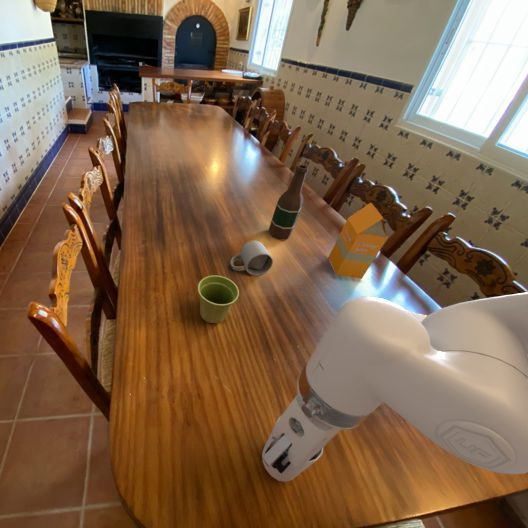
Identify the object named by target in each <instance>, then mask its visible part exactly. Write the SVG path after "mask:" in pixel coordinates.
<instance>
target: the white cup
mask: <svg viewBox="0 0 528 528" xmlns="http://www.w3.org/2000/svg"><path fill="white" fill-rule="evenodd" d="M281 416H282V415H280V416H279V417H278V418H277V420H276V422H275V424H274V426H275V425H276V423H277V422H278V420H279V419H280V417H281ZM271 435H272V431H271V432H270V434H269V436H268V438H267V439H266V442H265V444H264V446H263V449H262V451H261V452H262V453H261V459H262V457H263V456H264V455H265V452H266V450H267V449H268V447H269V446H270V444H271V443H272V442H273V441H274V440H275V439H274V438H273V439H272V436H271ZM324 448H325V446H324V447H323V448H322V449H321V450H320V451H319V452H318V453H316V454H315V455H314V456H313V457H312V458H311V459H310V460H309V461H308V462H307V463H305V464H304V465H303V466H302V467H300V468H297V467H294V466H293V465H292V464H290V465H289V466H288V467H287V468H286V469H285V471H284V472H283V473H279V471H278V470H277V469H274V468H273V467H272V466H270V467H268V466H267V464H266V463H265V462H264V460H263V459H262V460H261V461H262V464H263V466H264V468H265V470H266V471H267V473H268V474H269V475H270V476H271V477H272V478H274V479H275V480H276V481H279V482H283V483H287V482H290V481H293V480H294V479H295V478H297V477H298V476H299V475H301V473H303V472H305V470H307V469H308V468H309V467H311V466H312V465H313V464H314V463H315V462H317V461H318V460H319V459H320V458H321V457H322V455H323V453H324ZM285 454H286V455H288V451H287V450H286V451H285Z"/></svg>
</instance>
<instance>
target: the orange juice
mask: <svg viewBox="0 0 528 528" xmlns="http://www.w3.org/2000/svg"><path fill="white" fill-rule="evenodd" d="M387 240H388V236H387V231H386V226H385V221H384V217H383V215H382V214H381V213H380V212H379V210H378V209H377V208H376V207H375V205H374V204H373V203H372V202H369V203H367V204H366V205H364V206H363V207H362V208H361V209H358V210H357V211H356V212H355V213H353V214H351V215H350V216H349V217H347V219H346V221H345V223H344V225H343V227H342V229H341V231H340V233H339V235H338V237H337V238H336V241H335V243H334V245H333V247H332V249H331V251H330V253H329V255H328V260H329V263H330V265H331V267H332V269H333V272H334V274H335V276H338V277H339V276H340V277H347V278H353V279H360V280H363V277H364V276H365V275H366V274H367V271H368V270H369V268H370V267H371V265H372V264H373V262H374V261H375V259H376V258H377V256H378V255H379V253H380V251H381V249H382V248H383V246H384V245H385V243H386V242H387Z"/></svg>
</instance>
